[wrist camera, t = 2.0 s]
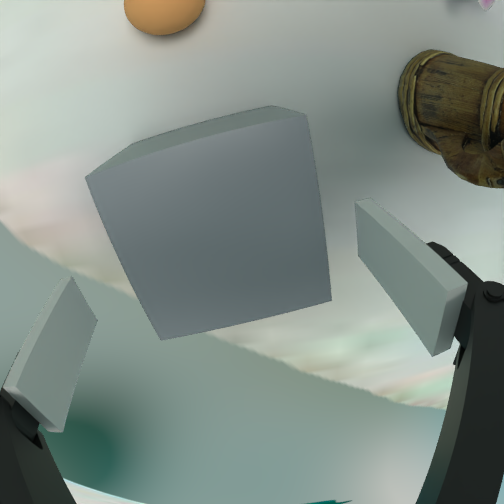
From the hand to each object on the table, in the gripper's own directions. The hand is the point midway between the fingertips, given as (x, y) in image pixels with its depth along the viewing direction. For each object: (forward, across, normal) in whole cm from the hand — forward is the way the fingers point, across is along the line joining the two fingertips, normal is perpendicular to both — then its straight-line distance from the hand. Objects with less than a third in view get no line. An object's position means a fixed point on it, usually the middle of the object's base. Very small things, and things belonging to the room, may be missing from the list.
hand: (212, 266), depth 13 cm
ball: (+8, 0, -14) cm, 16 cm away
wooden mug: (+11, -18, -3) cm, 21 cm away
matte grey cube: (+11, 0, 0) cm, 11 cm away
